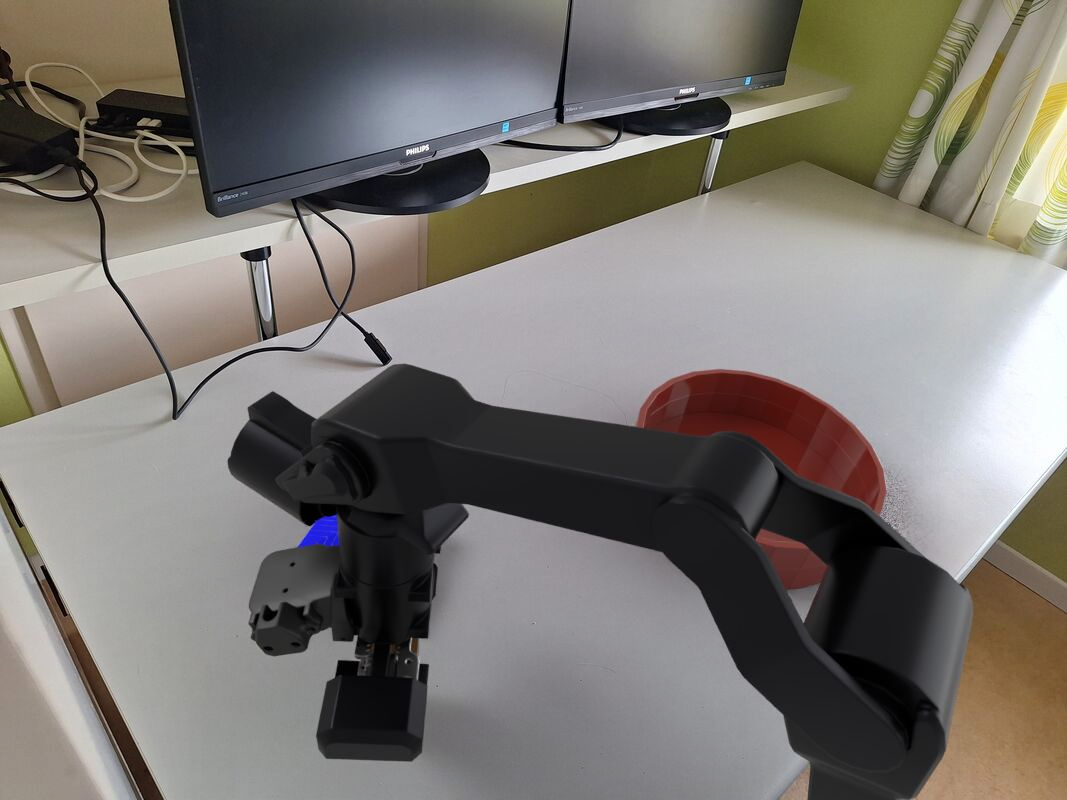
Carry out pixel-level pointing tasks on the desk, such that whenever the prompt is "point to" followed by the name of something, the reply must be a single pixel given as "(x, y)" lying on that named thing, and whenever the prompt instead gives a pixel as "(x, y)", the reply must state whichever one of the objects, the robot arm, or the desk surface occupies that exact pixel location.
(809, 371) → the desk surface
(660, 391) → the red round bowl
